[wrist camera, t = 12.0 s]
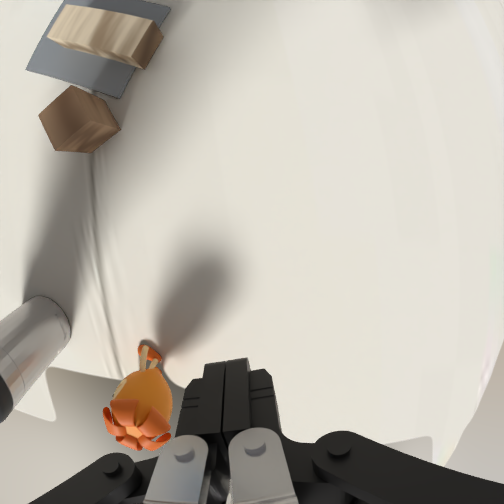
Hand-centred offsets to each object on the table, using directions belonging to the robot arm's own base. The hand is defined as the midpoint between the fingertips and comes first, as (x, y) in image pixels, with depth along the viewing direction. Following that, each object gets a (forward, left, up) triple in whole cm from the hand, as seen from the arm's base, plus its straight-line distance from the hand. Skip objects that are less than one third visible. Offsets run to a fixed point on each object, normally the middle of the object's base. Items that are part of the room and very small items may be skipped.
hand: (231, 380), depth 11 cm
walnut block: (-15, +17, -29) cm, 37 cm away
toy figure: (-15, -17, -29) cm, 37 cm away
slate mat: (-14, +31, -29) cm, 45 cm away
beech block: (-6, +24, -26) cm, 36 cm away
